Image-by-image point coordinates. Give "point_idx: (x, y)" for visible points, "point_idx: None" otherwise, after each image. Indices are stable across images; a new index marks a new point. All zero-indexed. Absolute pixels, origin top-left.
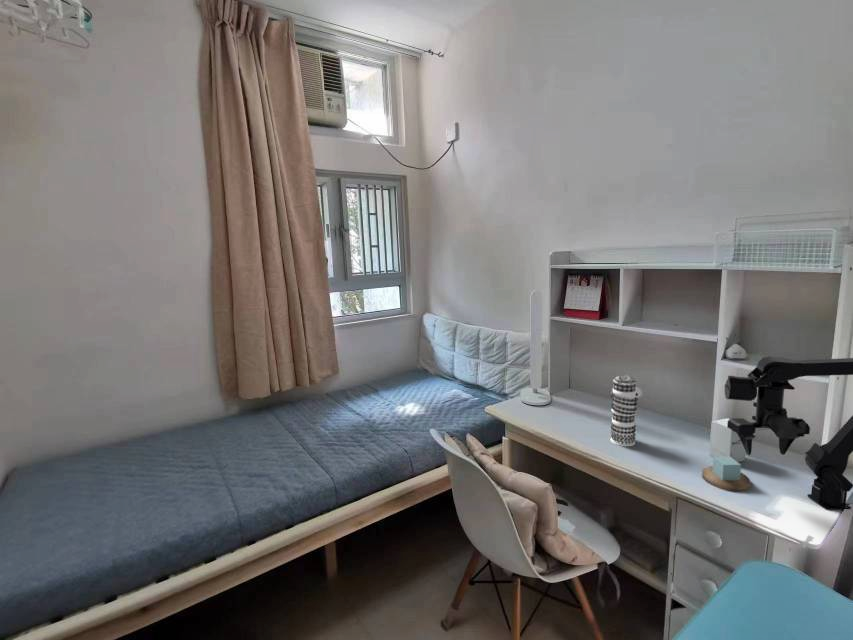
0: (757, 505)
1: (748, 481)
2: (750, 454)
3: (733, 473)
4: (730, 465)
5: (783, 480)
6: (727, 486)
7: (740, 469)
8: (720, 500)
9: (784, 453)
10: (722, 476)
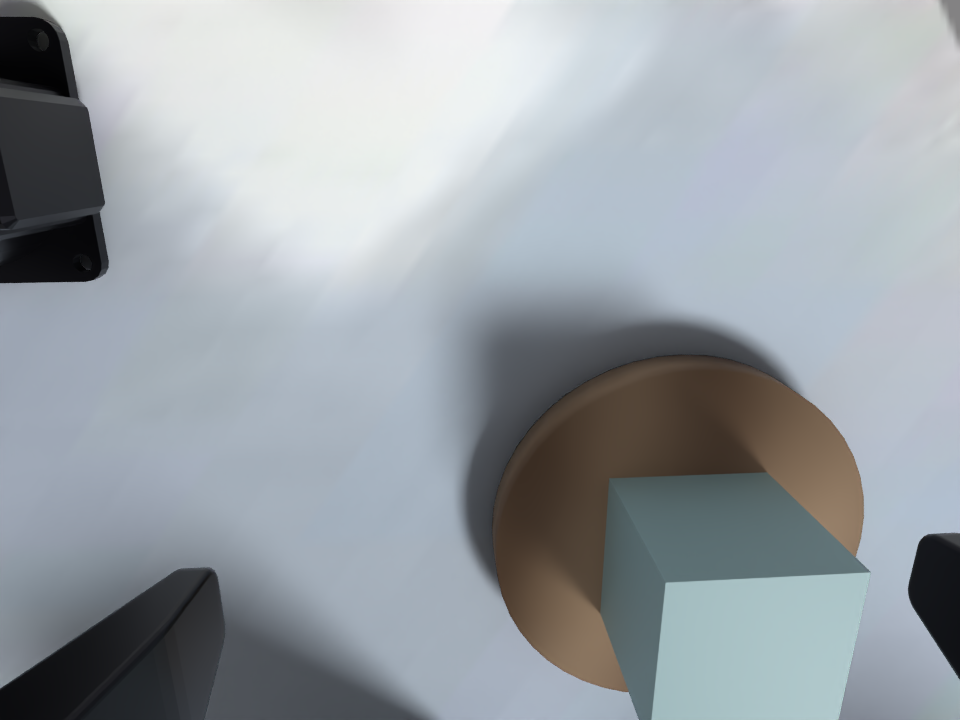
0: (682, 116)
1: (546, 457)
2: (940, 539)
3: (701, 513)
4: (784, 570)
5: (162, 534)
6: (781, 383)
7: (646, 544)
8: (946, 203)
9: (172, 583)
10: (787, 494)
